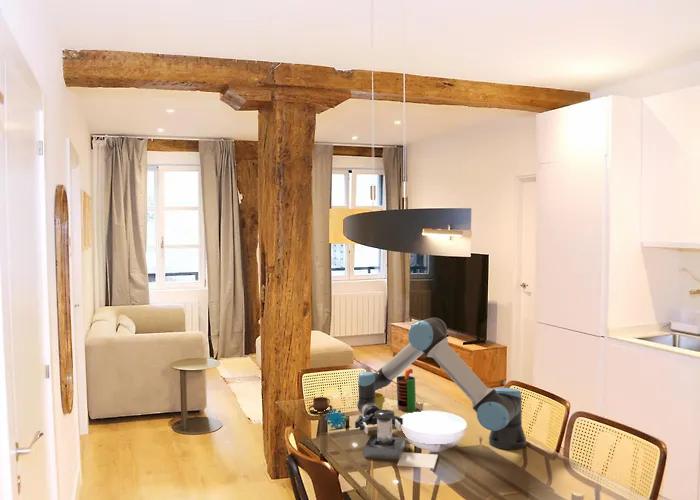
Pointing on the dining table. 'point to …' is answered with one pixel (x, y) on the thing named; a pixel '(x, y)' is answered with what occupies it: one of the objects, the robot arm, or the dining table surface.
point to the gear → (336, 418)
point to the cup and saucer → (321, 404)
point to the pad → (418, 460)
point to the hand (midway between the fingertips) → (383, 429)
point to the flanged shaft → (384, 427)
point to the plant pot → (379, 400)
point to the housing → (384, 448)
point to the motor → (406, 392)
